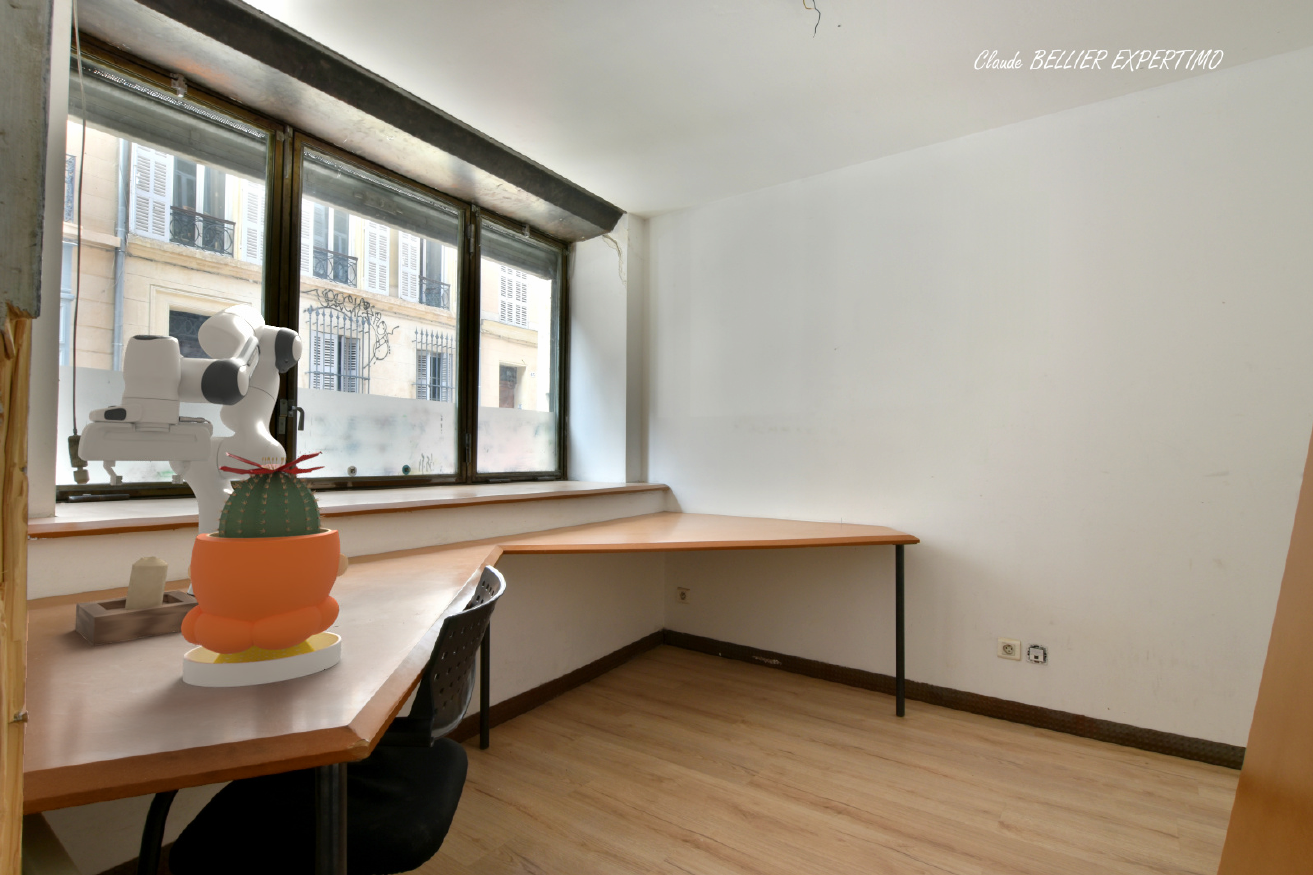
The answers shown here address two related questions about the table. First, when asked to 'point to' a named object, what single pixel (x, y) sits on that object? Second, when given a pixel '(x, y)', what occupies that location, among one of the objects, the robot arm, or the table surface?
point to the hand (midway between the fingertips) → (147, 484)
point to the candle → (146, 583)
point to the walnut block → (131, 618)
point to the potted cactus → (264, 584)
